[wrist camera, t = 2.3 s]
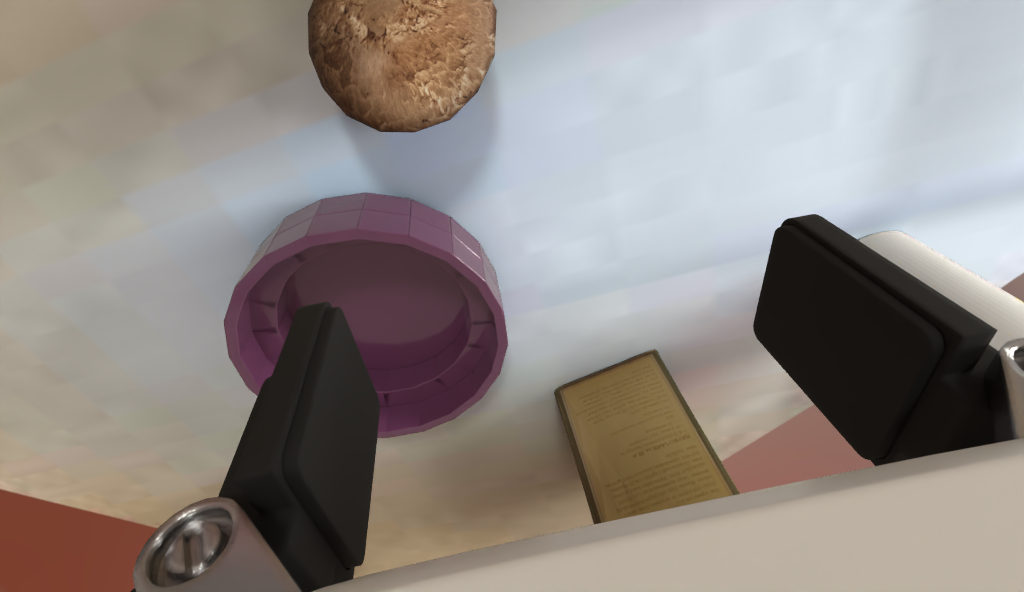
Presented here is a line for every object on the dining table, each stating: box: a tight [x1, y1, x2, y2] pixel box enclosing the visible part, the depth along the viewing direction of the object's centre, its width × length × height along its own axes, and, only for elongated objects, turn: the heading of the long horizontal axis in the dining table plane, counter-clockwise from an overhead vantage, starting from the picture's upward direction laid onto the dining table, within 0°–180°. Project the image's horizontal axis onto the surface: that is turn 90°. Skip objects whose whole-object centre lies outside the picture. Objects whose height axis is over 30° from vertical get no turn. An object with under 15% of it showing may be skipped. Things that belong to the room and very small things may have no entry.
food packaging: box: [554, 349, 740, 524], centre depth 31 cm, size 13×9×25 cm
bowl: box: [224, 193, 508, 438], centre depth 29 cm, size 15×15×5 cm
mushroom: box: [308, 0, 497, 132], centre depth 21 cm, size 8×8×6 cm
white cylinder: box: [858, 231, 1024, 351], centre depth 31 cm, size 8×8×12 cm
